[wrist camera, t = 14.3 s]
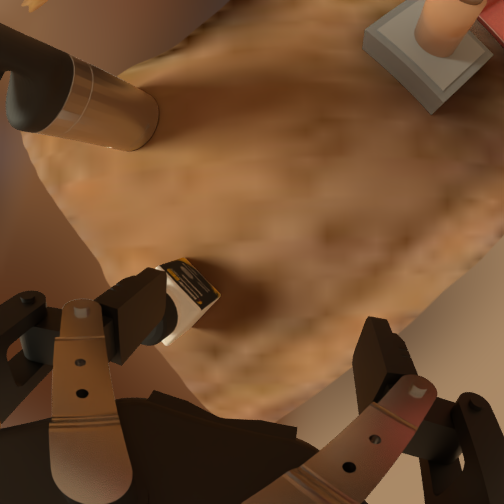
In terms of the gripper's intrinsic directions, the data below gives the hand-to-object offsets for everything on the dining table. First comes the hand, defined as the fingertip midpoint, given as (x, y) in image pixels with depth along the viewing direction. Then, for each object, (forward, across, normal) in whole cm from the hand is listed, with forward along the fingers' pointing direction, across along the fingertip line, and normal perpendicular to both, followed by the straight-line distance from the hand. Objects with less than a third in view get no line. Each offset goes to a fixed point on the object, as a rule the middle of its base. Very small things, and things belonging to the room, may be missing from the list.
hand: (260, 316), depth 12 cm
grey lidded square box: (+29, -13, -24) cm, 39 cm away
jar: (+23, -13, -24) cm, 36 cm away
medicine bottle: (+26, +12, +14) cm, 32 cm away
